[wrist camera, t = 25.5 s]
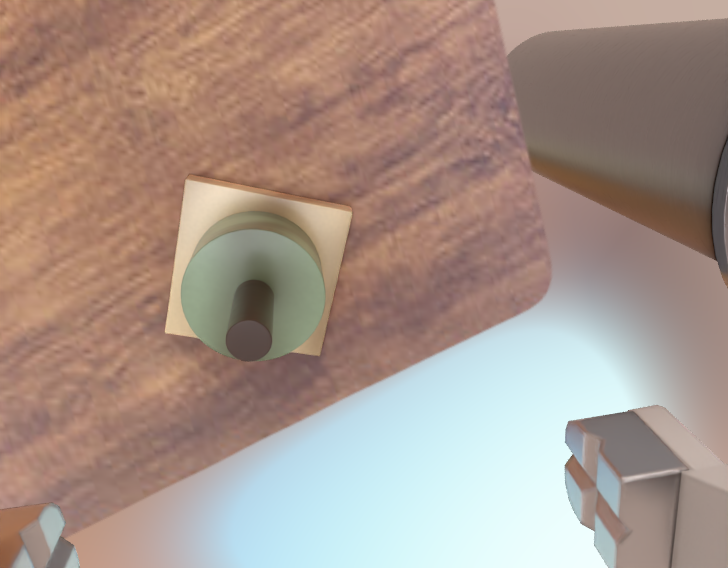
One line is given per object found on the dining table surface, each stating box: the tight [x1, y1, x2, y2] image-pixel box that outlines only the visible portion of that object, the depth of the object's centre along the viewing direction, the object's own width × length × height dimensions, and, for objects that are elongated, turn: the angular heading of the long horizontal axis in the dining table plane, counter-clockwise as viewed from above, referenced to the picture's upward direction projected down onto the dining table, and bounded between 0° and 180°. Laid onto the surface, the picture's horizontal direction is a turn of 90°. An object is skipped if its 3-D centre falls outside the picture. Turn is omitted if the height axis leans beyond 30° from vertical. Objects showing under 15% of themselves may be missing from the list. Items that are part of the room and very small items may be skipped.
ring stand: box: [165, 174, 353, 361], centre depth 34 cm, size 10×10×11 cm
